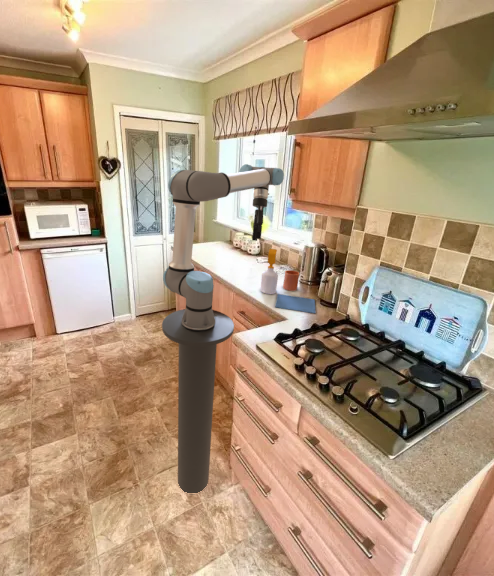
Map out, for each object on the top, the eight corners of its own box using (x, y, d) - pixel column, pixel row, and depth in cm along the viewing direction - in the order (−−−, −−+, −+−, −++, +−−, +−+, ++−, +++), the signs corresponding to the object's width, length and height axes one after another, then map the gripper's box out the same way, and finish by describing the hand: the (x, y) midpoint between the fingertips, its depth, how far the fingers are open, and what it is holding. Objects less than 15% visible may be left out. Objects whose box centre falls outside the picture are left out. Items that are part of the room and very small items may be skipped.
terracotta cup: (282, 289, 179) (284, 273, 176) (283, 285, 187) (285, 269, 183) (296, 291, 178) (299, 275, 174) (297, 286, 185) (299, 271, 182)
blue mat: (275, 307, 155) (275, 306, 155) (278, 294, 172) (278, 294, 172) (315, 313, 151) (315, 313, 151) (314, 300, 168) (314, 299, 167)
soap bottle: (276, 289, 179) (281, 248, 170) (275, 295, 171) (280, 252, 162) (261, 287, 181) (265, 246, 172) (259, 292, 172) (263, 250, 163)
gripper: (271, 194, 147) (267, 238, 149) (263, 204, 172) (259, 241, 174) (256, 192, 147) (251, 236, 149) (250, 202, 172) (246, 240, 173)
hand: (256, 239), depth 161 cm, fingers open, 13 cm apart
